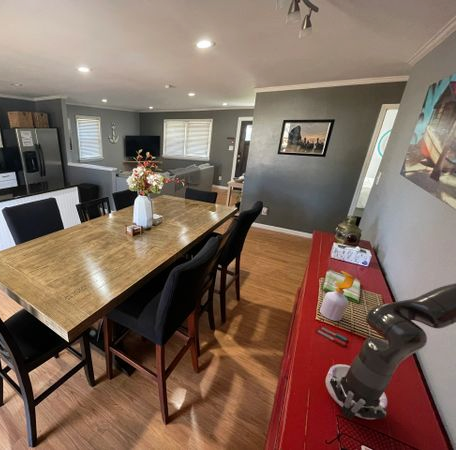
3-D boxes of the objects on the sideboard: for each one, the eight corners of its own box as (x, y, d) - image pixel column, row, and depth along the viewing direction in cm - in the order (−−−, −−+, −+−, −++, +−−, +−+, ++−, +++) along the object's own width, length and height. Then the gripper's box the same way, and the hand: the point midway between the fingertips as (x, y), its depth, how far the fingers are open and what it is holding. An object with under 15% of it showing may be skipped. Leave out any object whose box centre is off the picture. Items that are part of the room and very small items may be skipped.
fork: (346, 340, 104) (347, 338, 104) (345, 342, 103) (346, 340, 103) (322, 327, 111) (322, 325, 110) (321, 329, 110) (321, 327, 109)
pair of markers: (344, 344, 102) (345, 342, 102) (344, 346, 101) (344, 345, 101) (318, 330, 109) (319, 328, 108) (317, 332, 108) (317, 330, 107)
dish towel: (359, 284, 143) (362, 279, 142) (359, 304, 126) (362, 298, 125) (326, 273, 153) (327, 268, 152) (321, 290, 136) (323, 285, 135)
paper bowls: (315, 374, 89) (321, 359, 86) (361, 383, 86) (369, 368, 83) (334, 419, 75) (343, 403, 72) (390, 431, 73) (401, 415, 70)
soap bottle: (315, 308, 122) (330, 267, 112) (331, 307, 123) (347, 267, 114) (328, 322, 114) (346, 279, 104) (346, 320, 115) (364, 278, 105)
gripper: (404, 385, 60) (377, 426, 67) (342, 350, 70) (324, 388, 76) (400, 405, 56) (372, 447, 63) (334, 364, 65) (316, 404, 72)
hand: (345, 414), depth 70 cm, fingers closed
